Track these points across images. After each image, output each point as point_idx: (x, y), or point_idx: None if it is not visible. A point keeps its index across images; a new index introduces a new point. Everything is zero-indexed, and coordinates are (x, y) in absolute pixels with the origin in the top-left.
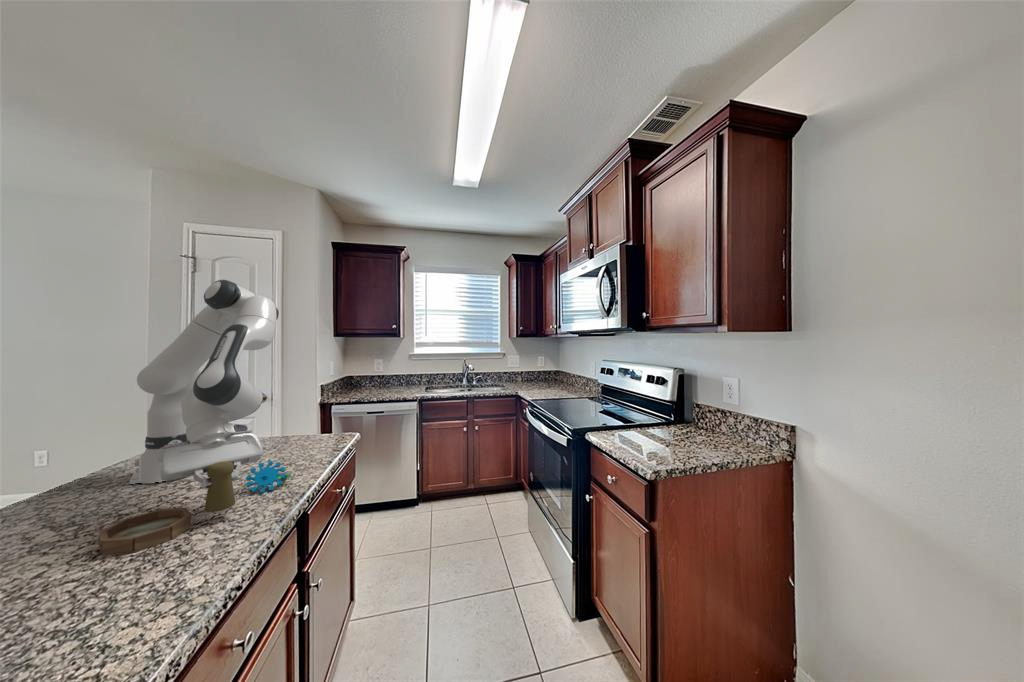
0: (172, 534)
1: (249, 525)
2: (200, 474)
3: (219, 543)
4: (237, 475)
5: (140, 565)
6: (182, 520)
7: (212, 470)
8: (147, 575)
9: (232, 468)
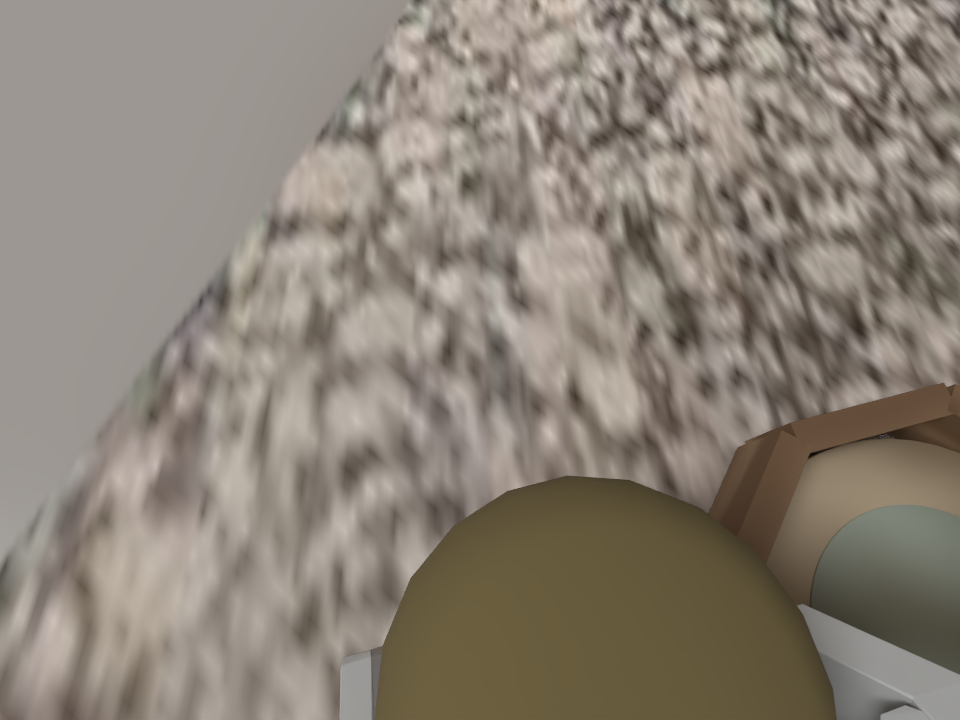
0: (752, 443)
1: (359, 350)
2: (888, 675)
3: (502, 229)
4: (353, 672)
5: (794, 238)
6: (745, 514)
7: (722, 527)
8: (735, 133)
9: (406, 593)
